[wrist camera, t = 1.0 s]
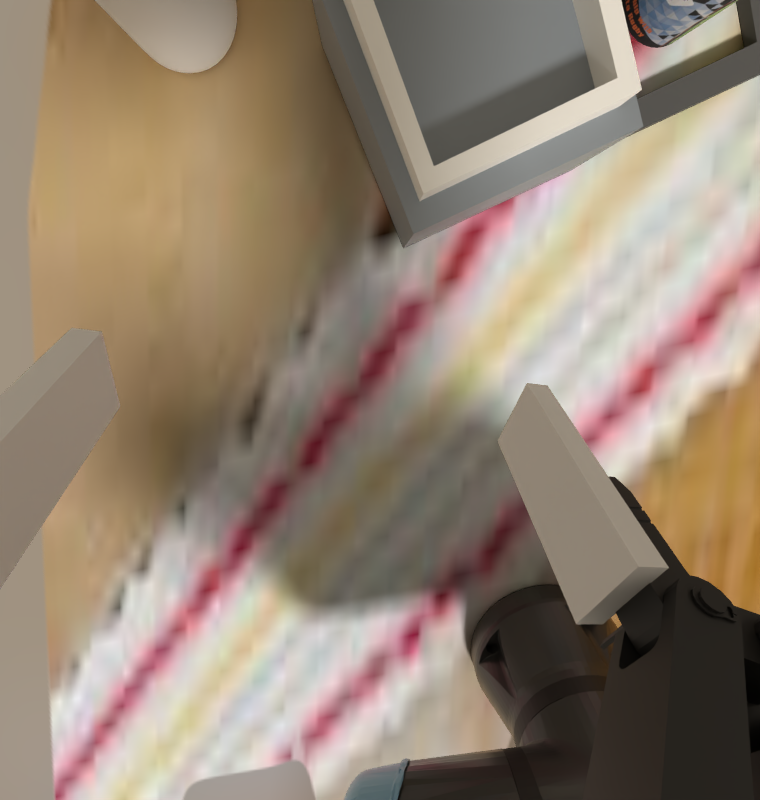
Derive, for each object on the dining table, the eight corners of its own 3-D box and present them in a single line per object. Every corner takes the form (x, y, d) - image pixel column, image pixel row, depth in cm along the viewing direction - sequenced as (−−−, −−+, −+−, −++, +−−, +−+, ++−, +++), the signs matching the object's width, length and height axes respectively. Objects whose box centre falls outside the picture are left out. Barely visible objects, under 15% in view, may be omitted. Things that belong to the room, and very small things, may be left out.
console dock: (569, 170, 32) (668, 111, 21) (403, 248, 33) (416, 229, 22) (506, -53, 28) (586, -261, 17) (322, 44, 29) (291, -94, 19)
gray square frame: (776, 66, 30) (790, 59, 29) (592, 152, 31) (599, 148, 30) (741, -167, 27) (755, -184, 26) (536, -59, 28) (542, -71, 27)
